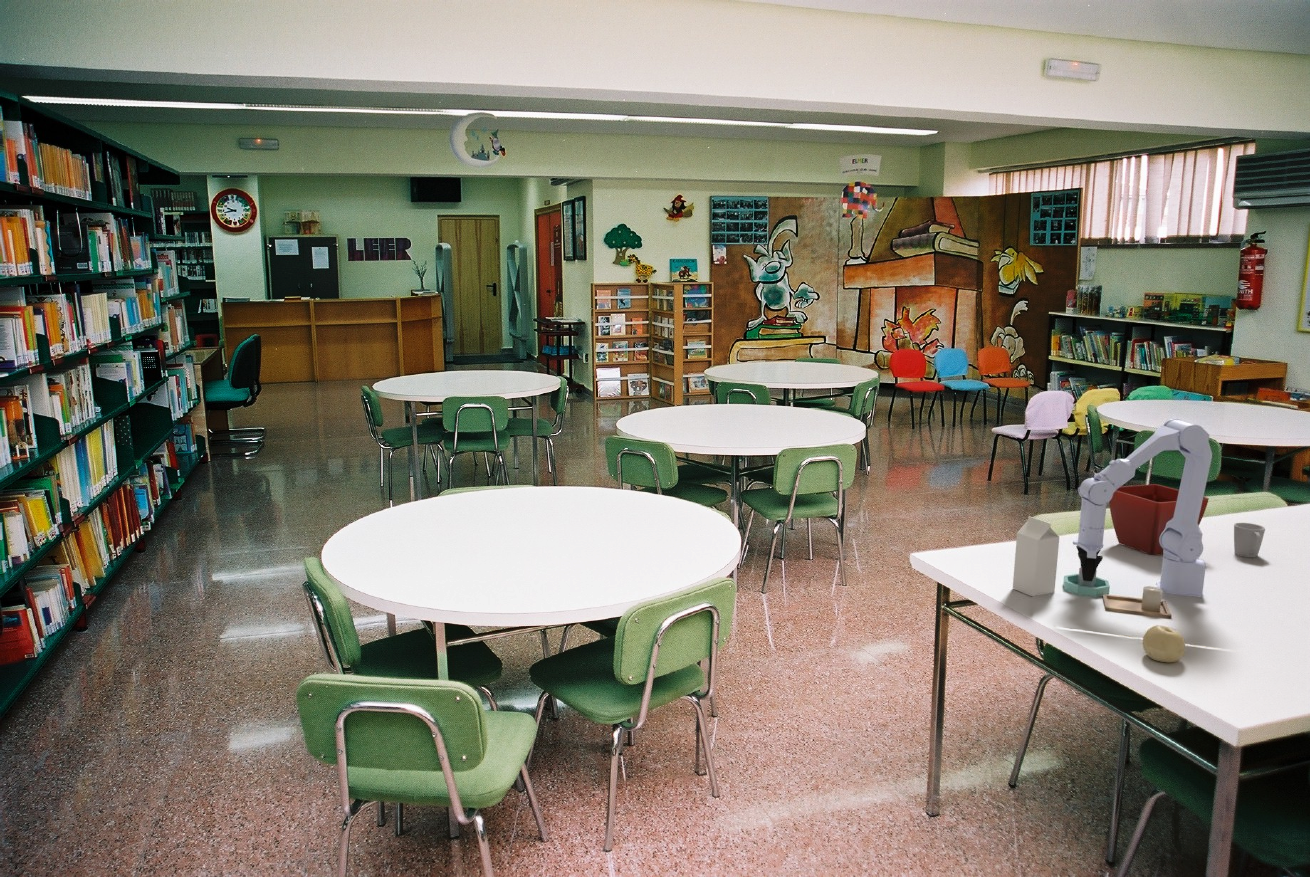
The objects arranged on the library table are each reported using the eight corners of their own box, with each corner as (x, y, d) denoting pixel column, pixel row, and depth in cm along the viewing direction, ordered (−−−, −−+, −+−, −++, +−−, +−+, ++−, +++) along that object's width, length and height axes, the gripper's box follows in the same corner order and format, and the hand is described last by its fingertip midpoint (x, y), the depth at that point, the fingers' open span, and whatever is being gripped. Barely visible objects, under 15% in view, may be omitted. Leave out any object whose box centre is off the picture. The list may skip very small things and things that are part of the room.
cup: (1253, 551, 271) (1257, 523, 269) (1271, 561, 261) (1275, 532, 260) (1225, 550, 272) (1229, 522, 270) (1242, 560, 262) (1246, 531, 261)
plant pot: (1150, 536, 286) (1156, 483, 282) (1204, 554, 268) (1210, 497, 265) (1100, 541, 280) (1106, 487, 276) (1152, 560, 262) (1158, 503, 259)
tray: (1165, 605, 227) (1165, 601, 227) (1171, 620, 218) (1171, 615, 218) (1102, 598, 232) (1102, 593, 232) (1105, 612, 223) (1105, 607, 223)
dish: (1106, 586, 240) (1107, 577, 240) (1109, 600, 231) (1110, 590, 230) (1062, 581, 244) (1063, 572, 243) (1064, 594, 234) (1065, 584, 234)
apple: (1130, 649, 201) (1146, 617, 201) (1166, 668, 199) (1182, 636, 200) (1144, 652, 193) (1161, 619, 193) (1182, 672, 191) (1198, 638, 192)
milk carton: (1033, 597, 232) (1039, 524, 229) (1012, 588, 239) (1018, 517, 235) (1054, 594, 235) (1061, 521, 231) (1033, 585, 241) (1039, 514, 238)
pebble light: (1158, 607, 225) (1160, 587, 224) (1161, 612, 221) (1163, 592, 220) (1140, 604, 226) (1142, 585, 225) (1142, 610, 223) (1144, 590, 222)
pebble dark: (1095, 587, 238) (1096, 568, 238) (1094, 591, 235) (1096, 571, 234) (1078, 585, 240) (1079, 566, 239) (1077, 588, 236) (1078, 569, 236)
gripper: (1073, 517, 242) (1068, 566, 245) (1076, 531, 229) (1071, 584, 231) (1102, 519, 240) (1097, 570, 242) (1107, 534, 226) (1102, 587, 229)
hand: (1086, 577), depth 237 cm, fingers open, 5 cm apart
